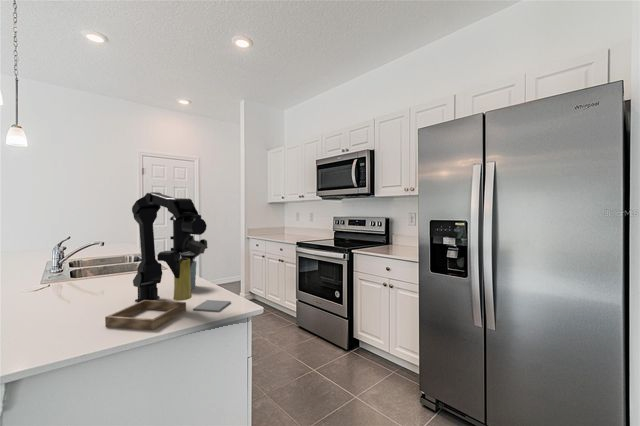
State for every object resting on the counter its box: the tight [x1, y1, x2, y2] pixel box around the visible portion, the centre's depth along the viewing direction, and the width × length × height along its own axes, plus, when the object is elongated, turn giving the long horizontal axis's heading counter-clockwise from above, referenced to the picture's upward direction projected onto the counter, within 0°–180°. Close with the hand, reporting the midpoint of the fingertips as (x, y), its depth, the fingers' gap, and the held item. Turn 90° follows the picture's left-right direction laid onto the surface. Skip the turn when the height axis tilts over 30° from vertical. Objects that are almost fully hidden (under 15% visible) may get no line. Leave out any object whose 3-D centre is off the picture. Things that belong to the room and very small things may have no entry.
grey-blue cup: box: [190, 260, 197, 290], centre depth 138 cm, size 10×10×12 cm
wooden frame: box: [104, 299, 187, 331], centre depth 102 cm, size 17×17×3 cm
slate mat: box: [192, 299, 231, 313], centre depth 114 cm, size 10×10×1 cm
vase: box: [173, 258, 193, 302], centre depth 107 cm, size 6×6×14 cm
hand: (182, 276), depth 107 cm, fingers closed on vase, 5 cm apart
